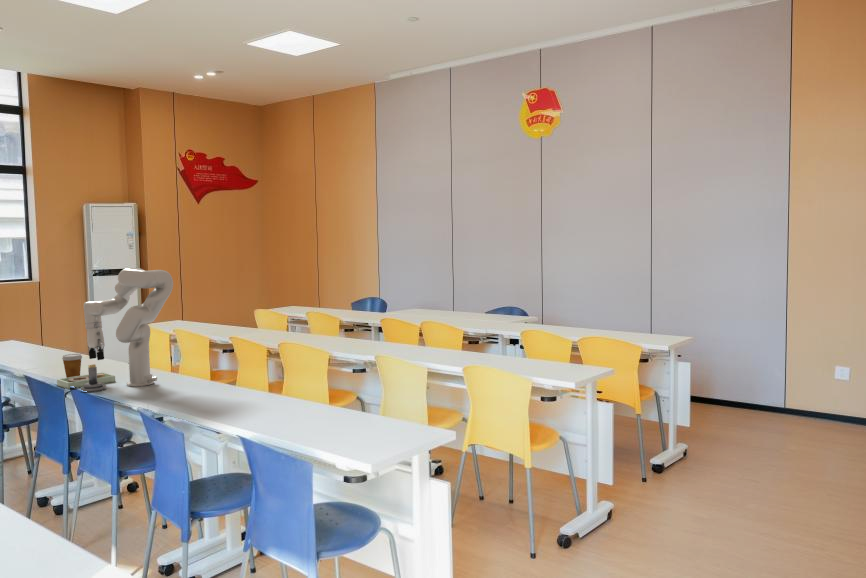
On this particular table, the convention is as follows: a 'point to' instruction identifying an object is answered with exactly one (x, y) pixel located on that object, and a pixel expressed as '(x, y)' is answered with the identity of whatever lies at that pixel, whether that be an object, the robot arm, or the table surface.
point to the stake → (93, 381)
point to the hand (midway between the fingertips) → (96, 359)
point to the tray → (84, 381)
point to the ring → (84, 378)
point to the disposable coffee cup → (72, 364)
